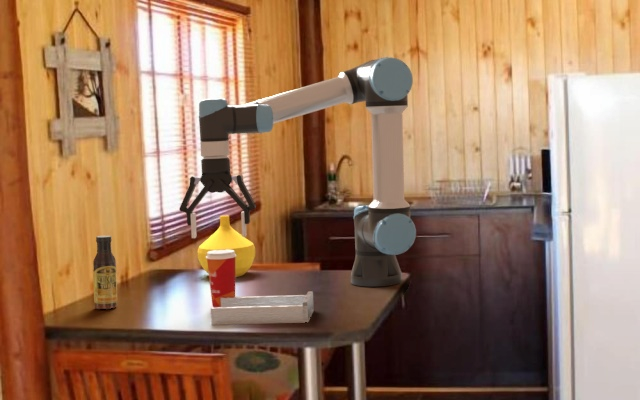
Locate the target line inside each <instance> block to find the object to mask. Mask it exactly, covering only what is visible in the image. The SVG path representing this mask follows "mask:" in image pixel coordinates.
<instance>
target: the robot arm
mask: <svg viewBox="0 0 640 400" xmlns="http://www.w3.org/2000/svg"><path fill="white" fill-rule="evenodd" d="M413 80H414V79H413V74H412V70H411V68H410V67H409V66H408V65H407V63H406V62H404V61H403V60H401V59H399V58H397V57H390V56H389V57H388V56H385V57H380V58H377V59H371V60H368V61H366V62H363V63H362V64H359V65H357V66H355V67H352V68H351V69H347V70H344V71H341V72H340V73H339V75H338V76H336V77H333V78H330V79H325V80H322V81H319V82H316V83H311V84H308V85H306V86H302V87H300V88H295V89H293V90H289V91H285V92H282V93H278V94H275V95H272V96H269V97H264V98H262V99H257V100H255V101H251V102H248V103H245V104H238V105H229V104H228V100H227V99H226V98H204V99H201V100H200V101H199V103H198V121H199V122H198V124H199V126H198V127H199V141H200V142H199V144H200V156H201V157H203V158H202V159H201V160H200V162H201V176H196V175H193V176H190V179H189V186H188V187H187V190H186V192H185V195H184V197H183V200H182V202H181V204H180V206H179V211H180V212H183V213H185V215H186V224H187V226H190V229H191V230H190V232H191V233H190V236H191V239H197V232H198V231H197V218H196V216H197V215H196V212H193V211H194V210H195V209H196V208H197V206H198V205H199V203H201V201H202V200H203V198H204V197H205V196H206V195H207V194H208V192H209V193H210V194H212V193H224V192H226V194H228V195H229V196H230V198H232V199H233V201H234V202H235V203H236V204H237V205H238V207H240V208H241V209H242V211H241V213H240V218H241V220H240V221H241V235H242V237H245V238H246V237H247V236H248V235H247V232H248V231H247V225H248V224H250V222H251V219H250V218H251V217H250V216H251V215H250V214H251V213H250V212H251V211H253V210H254V209H256V208H257V205H256V203H255V201H254V198H253V196H251V193H250V192H249V190H248V188H247V186H246V185H245V182H244V178H243V177H244V176H243V175H242V174H241V173H240V174H238V175H232V174H231V159H230V158H229V157H228V156H230V140H229V139H230V138H229V135H236V134H241V135H242V134H263V133H270V132H271V131H272V130H273V128H274V124H277V123H280V122H283V121H286V120H290V119H294V118H296V117H301V116H304V115H307V114H312V113H314V112H317V111H321V110H324V109H327V108H330V107H334V106H338V105H341V104H345V103H346V104H348V105H353V104H358V103H362V102H365V109H366V110H367V111H368V112H369V113H370V115H371V116H370V117H371V118H370V119H371V151H372V152H371V153H372V154H371V155H372V184H373V185H372V187H373V188H372V189H373V193H372V194H373V195H372V196H373V199H372V201H371V203H369V204H368V205H366V204H365V205H357V206H356V207H354V209H353V216H352V217H353V218H352V219H353V223H354V225H353V226H354V242H355V243H354V245H355V246H354V247H355V258H354V262H353V266H352V269H351V273H350V284H351V285H354V286H359V287H369V288H370V287H371V288H372V287H387V286H393V285H398V284H401V283H402V282H403V274H402V269H401V268H400V265H399V262H398V259H397V256H396V255H401V254H404V253H405V252H407V251H408V250H409V249H410V248H411V247H412V246H413V245H414V243H415V240H416V236H417V229H416V225H415V223H414V221H413V220H412V218H411V205H410V204H409V202H407V200H406V199H405V172H404V170H405V169H404V165H405V164H404V162H405V161H404V133H403V132H404V131H403V129H404V127H403V113H404V111H405V110H406V109H407V108H408V105H409V104H408V102H409V101H408V100H409V99H408V95H409V93H410V91H411V90H412V86H413V84H414V83H413V82H414V81H413ZM232 182H234V183H235V184H237V186H238V188H239V190H240V192H241V194H242V196H243V198H244V200H245V201H246V202H247V203H246V202H245V201H244V200H243V199H242V197H240V196H239V194H238V193H237V192H236V191H235V190H234V188H232V186H231V183H232ZM199 183H201V184H202V185H203V187H202V189H201V190H200V192H199V193H198V194H197V195H196V197H195V198H194V199H193V201H192V203H191V204H190V205H189V206H188V204H189V202H190V200H191V198H192V196H193V194H194V191H195V189H196V186H197V185H199Z"/></svg>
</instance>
